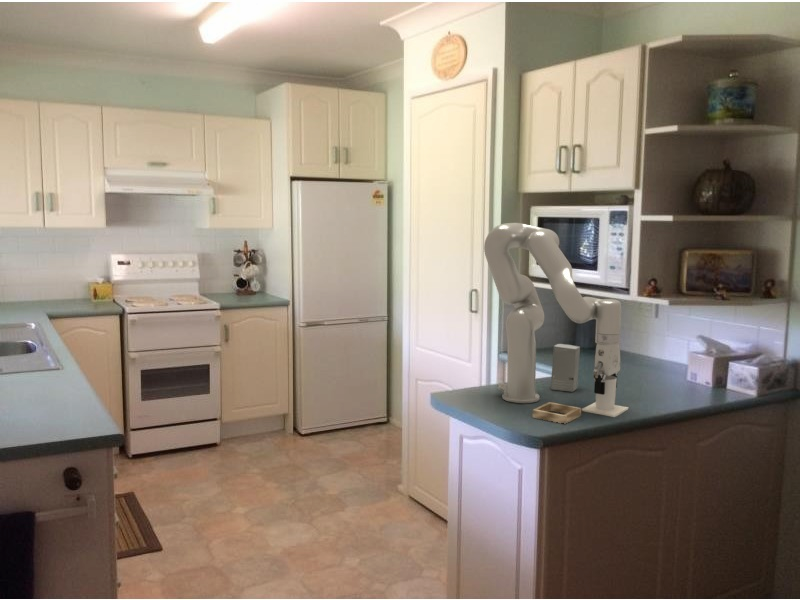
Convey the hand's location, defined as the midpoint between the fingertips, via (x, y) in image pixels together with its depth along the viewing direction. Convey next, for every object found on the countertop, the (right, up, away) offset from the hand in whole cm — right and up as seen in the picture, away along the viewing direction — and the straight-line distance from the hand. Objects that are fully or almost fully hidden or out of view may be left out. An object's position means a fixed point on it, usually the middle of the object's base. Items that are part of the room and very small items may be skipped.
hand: (605, 390), depth 230 cm
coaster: (0, -6, +1) cm, 6 cm away
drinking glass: (0, -6, +2) cm, 6 cm away
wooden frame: (-17, -7, -6) cm, 19 cm away
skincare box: (-7, -3, +27) cm, 28 cm away
